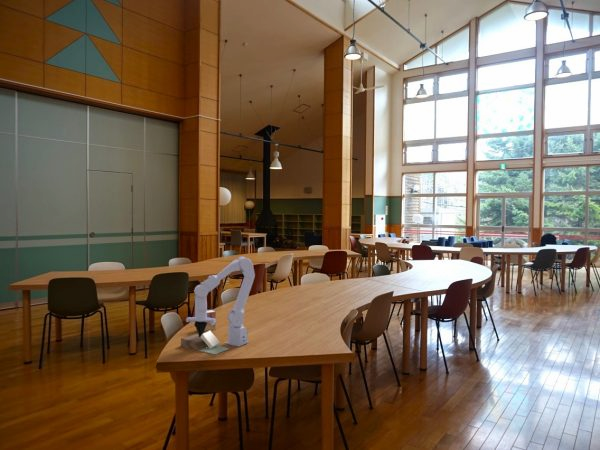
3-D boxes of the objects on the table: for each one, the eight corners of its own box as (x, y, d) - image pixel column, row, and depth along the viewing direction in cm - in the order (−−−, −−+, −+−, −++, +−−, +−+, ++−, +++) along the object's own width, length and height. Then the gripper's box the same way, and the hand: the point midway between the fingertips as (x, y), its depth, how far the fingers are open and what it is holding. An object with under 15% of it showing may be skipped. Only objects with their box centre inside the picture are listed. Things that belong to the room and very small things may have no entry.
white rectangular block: (217, 345, 211) (220, 342, 210) (210, 349, 206) (212, 346, 205) (208, 333, 213) (210, 330, 212) (200, 336, 208) (202, 334, 207)
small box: (202, 332, 237) (202, 313, 237) (198, 329, 241) (198, 311, 241) (215, 329, 242) (215, 311, 241) (211, 327, 246) (211, 309, 246)
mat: (229, 349, 207) (229, 348, 207) (214, 354, 199) (214, 353, 199) (214, 345, 212) (214, 344, 212) (199, 350, 204) (199, 350, 204)
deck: (212, 345, 213) (212, 337, 213) (198, 350, 205) (198, 342, 204) (195, 341, 219) (195, 333, 219) (180, 346, 211) (180, 338, 211)
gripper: (217, 308, 213) (217, 335, 213) (190, 307, 215) (190, 333, 216) (212, 311, 206) (212, 339, 206) (184, 310, 208) (184, 337, 209)
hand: (201, 336), depth 210 cm, fingers closed
